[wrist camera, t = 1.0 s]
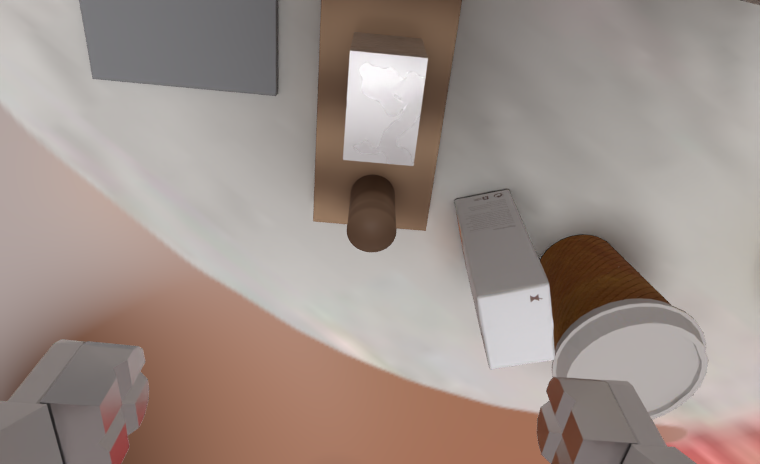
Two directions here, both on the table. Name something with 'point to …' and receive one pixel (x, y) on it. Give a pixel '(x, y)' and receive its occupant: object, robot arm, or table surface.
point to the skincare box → (505, 281)
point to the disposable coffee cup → (620, 326)
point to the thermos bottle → (753, 1)
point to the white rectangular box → (384, 98)
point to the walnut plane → (333, 174)
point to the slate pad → (184, 43)
